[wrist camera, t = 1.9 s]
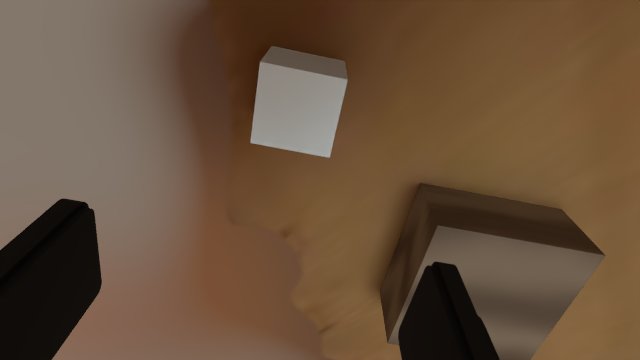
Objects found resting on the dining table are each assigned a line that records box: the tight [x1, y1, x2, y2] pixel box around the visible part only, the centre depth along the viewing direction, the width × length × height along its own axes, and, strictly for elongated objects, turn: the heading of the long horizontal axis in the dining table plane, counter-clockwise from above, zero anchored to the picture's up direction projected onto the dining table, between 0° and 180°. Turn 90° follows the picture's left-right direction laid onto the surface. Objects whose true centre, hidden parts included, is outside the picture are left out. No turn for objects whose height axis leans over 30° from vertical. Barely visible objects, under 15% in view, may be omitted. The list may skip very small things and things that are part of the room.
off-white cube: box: [250, 46, 348, 158], centre depth 25 cm, size 5×5×5 cm
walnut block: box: [380, 183, 606, 360], centre depth 31 cm, size 12×12×6 cm
